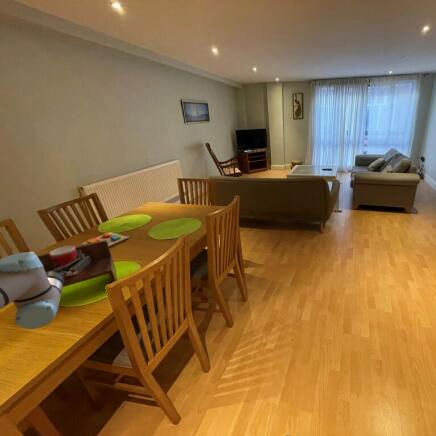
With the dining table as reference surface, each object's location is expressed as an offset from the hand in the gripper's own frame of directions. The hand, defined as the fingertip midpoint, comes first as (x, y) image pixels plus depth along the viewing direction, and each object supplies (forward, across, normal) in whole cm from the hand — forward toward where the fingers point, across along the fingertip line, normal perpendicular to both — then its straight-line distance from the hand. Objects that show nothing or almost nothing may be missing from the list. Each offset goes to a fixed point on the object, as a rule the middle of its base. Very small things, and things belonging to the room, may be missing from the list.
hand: (56, 258), depth 89 cm
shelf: (+10, 0, -21) cm, 24 cm away
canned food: (+10, 0, -12) cm, 16 cm away
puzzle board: (+58, +10, -22) cm, 63 cm away
